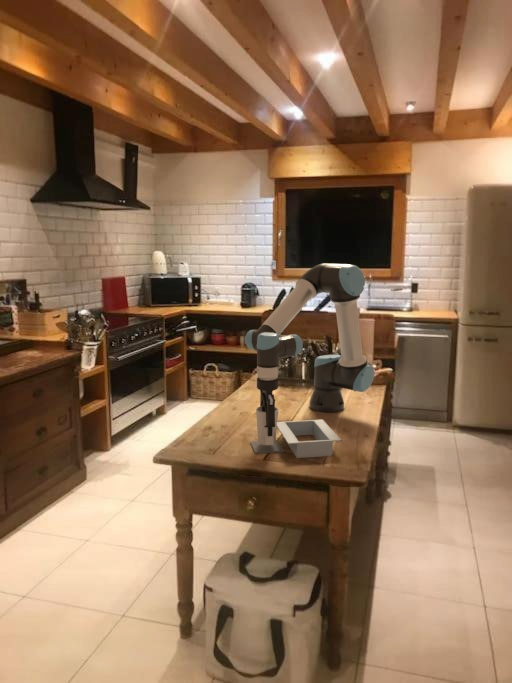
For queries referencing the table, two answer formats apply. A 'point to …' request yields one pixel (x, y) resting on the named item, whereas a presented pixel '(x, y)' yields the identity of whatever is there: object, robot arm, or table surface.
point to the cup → (262, 422)
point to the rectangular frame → (308, 428)
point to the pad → (266, 448)
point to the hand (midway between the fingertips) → (266, 439)
